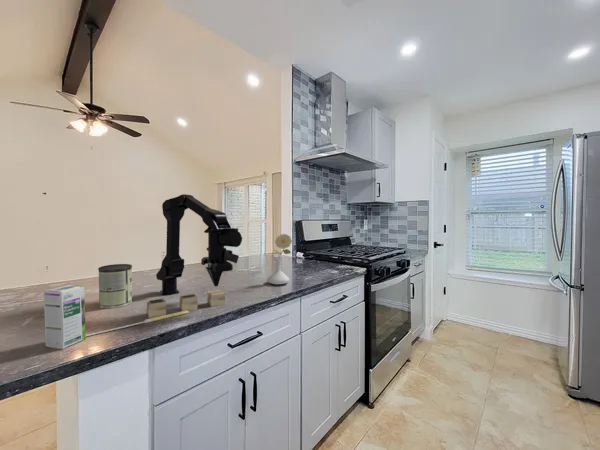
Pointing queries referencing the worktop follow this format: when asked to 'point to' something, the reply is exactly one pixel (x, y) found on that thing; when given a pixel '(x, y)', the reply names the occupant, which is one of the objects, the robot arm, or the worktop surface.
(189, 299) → the marked block 2
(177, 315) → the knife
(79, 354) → the worktop surface
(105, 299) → the coffee can
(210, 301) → the plain block
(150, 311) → the marked block 1
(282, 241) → the flower in vase
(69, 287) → the syrup box
